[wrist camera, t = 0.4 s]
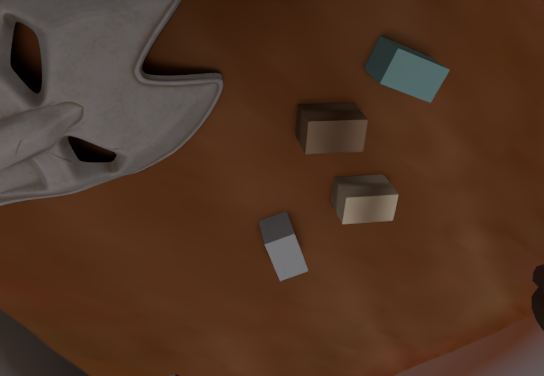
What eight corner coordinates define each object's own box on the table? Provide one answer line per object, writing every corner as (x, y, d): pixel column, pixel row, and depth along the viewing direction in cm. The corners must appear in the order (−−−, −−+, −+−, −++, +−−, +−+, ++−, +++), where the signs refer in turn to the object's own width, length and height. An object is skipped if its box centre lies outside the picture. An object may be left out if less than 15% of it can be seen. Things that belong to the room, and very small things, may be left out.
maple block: (330, 202, 56) (342, 224, 52) (334, 176, 54) (346, 197, 50) (378, 199, 57) (392, 220, 53) (383, 174, 55) (398, 194, 51)
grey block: (258, 220, 55) (264, 244, 52) (286, 210, 55) (294, 233, 52) (273, 256, 59) (280, 281, 55) (299, 246, 59) (308, 270, 55)
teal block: (363, 68, 48) (379, 83, 44) (379, 35, 46) (398, 48, 42) (411, 87, 50) (430, 102, 46) (428, 56, 48) (449, 69, 44)
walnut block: (295, 134, 50) (305, 154, 47) (297, 103, 48) (308, 121, 45) (348, 132, 51) (362, 151, 48) (353, 102, 50) (367, 119, 46)
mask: (-261, 108, 32) (145, -79, 30) (-178, 67, 39) (148, -84, 38) (-46, 295, 42) (257, 162, 41) (-14, 235, 50) (243, 121, 49)
